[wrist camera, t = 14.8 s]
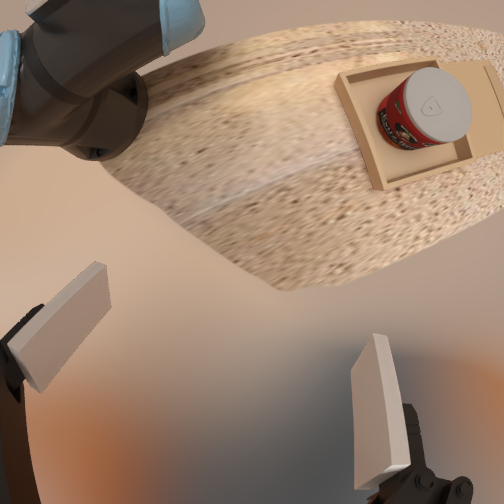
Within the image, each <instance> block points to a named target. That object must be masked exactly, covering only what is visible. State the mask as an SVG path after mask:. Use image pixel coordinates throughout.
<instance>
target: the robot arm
mask: <svg viewBox="0 0 504 504" xmlns="http://www.w3.org/2000/svg"><path fill="white" fill-rule="evenodd" d="M25 13H26V14H27V15H28V16H29V17H31V18H32V19H33V20H34V21H35V22H34V23H33V24H32V25H31V26H30V27H29V28H28V29H27V30H26V31H25V32H23V33H19V31H17V30H7V31H4V32H2V33H0V147H1V146H3V145H35V146H60V147H61V148H63V149H65V150H66V151H68V152H70V153H71V154H73V155H75V156H76V157H78V158H81V159H84V160H89V161H103V160H108V159H111V158H113V157H115V156H117V155H118V154H120V153H121V152H123V151H124V150H125V149H126V148H127V147H128V146H129V145H130V144H131V143H132V141H133V140H134V139H135V137H136V136H137V134H138V133H139V131H140V129H141V127H142V124H143V122H144V119H145V116H146V111H147V104H148V96H147V89H146V86H145V83H144V81H143V79H142V78H141V77H140V75H138V73H137V72H135V70H137V69H139V68H140V67H142V66H144V65H146V64H148V63H150V62H151V61H153V60H155V59H157V58H159V57H161V56H167V55H169V53H170V51H172V50H174V49H176V48H178V47H180V46H181V45H184V44H185V43H188V42H190V41H192V40H193V39H195V38H196V37H198V36H199V35H200V34H201V33H202V31H203V29H204V26H205V18H204V15H203V12H202V9H201V6H200V3H199V0H27V4H26V11H25ZM109 309H111V301H110V294H109V286H108V278H107V268H106V265H105V264H101V263H98V262H93V263H92V264H91V265H90V266H88V267H87V268H86V269H85V270H84V271H83V272H81V273H80V274H79V275H78V276H77V277H76V278H75V279H73V280H72V281H71V282H70V283H69V284H68V285H67V286H66V287H65V288H63V289H62V290H61V291H60V292H59V293H58V294H57V295H56V296H55V297H54V298H53V299H52V300H50V301H49V302H48V303H47V304H46V305H44V304H40V305H38V306H36V307H34V308H32V309H31V310H30V311H29V313H27V314H26V316H25V317H23V318H22V319H21V320H20V322H18V323H17V324H16V325H15V326H14V327H13V328H12V329H11V330H10V331H9V332H8V333H7V334H6V335H5V336H4V337H3V338H2V339H1V340H0V504H41V501H40V498H39V494H38V490H37V485H36V481H35V476H34V472H33V467H32V461H31V455H30V449H29V442H28V434H27V425H26V413H25V397H24V384H23V381H24V379H25V378H26V380H27V382H28V383H29V385H30V386H31V387H32V388H34V389H35V390H37V391H38V392H39V393H41V394H42V393H43V392H44V390H45V389H46V388H47V386H48V385H49V384H50V382H51V381H52V379H53V378H54V377H55V376H56V375H57V373H58V372H59V371H60V369H61V368H62V367H63V366H64V364H65V363H66V362H67V360H68V359H69V358H70V357H71V355H72V354H73V353H74V352H75V350H76V349H77V348H78V347H79V345H80V344H81V343H82V342H83V341H84V339H85V338H86V337H87V336H88V335H89V333H90V332H91V331H92V330H93V329H94V327H95V326H96V325H97V324H98V323H99V321H100V320H101V319H102V318H103V317H104V315H105V314H106V313H107V312H108V311H109ZM351 383H352V398H353V417H354V447H355V448H354V449H355V450H354V451H355V482H354V483H355V484H354V489H355V490H369V489H373V488H375V487H376V486H378V485H379V492H377V493H375V494H373V495H372V496H370V497H369V498H367V500H370V499H371V500H370V501H369V503H368V504H471V500H472V495H473V484H472V482H471V481H470V479H468V478H467V477H464V476H461V477H458V478H456V479H455V480H453V481H449V480H445V479H440V478H437V477H435V474H434V473H433V471H431V469H429V468H427V467H426V464H425V457H424V450H423V444H422V438H421V435H420V427H419V421H418V416H417V413H416V411H415V409H414V408H413V406H412V404H404V403H402V401H401V396H400V391H399V386H398V382H397V377H396V372H395V367H394V363H393V359H392V354H391V350H390V346H389V342H388V338H387V336H385V335H379V334H375V333H373V334H372V336H371V337H370V339H369V341H368V343H367V344H366V346H365V348H364V350H363V351H362V353H361V355H360V356H359V358H358V360H357V362H356V363H355V365H354V366H353V368H352V369H351Z"/></svg>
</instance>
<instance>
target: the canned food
mask: <svg viewBox="0 0 504 504" xmlns="http://www.w3.org/2000/svg"><path fill="white" fill-rule="evenodd" d="M471 122H472V106H471V102H470V99H469V96H468V94H467V92H466V90H465V89H464V87H463V86H462V84H461V83H460V82H459V81H458V80H457V79H456V78H455V77H454V76H452V75H451V74H450V73H448V72H446V71H444V70H442V69H439V68H434V67H426V68H422V69H419V70H417V71H416V72H414V73H413V74H411V75H410V76H409V77H407V78H406V79H405V80H404V81H403V82H402V83H401V84H400V85H398V86H397V87H396V88H395V89H394V90H393V91H392V92H391V93H389V94H388V95H387V96H386V97H385V98H384V99H383V100H382V101H381V103H380V105H379V107H378V111H377V124H378V127H379V130H380V132H381V134H382V136H383V137H384V138H385V139H386V140H387V141H388V142H389V143H390V144H392V145H393V146H395V147H396V148H399V149H402V150H416V149H421V148H426V147H431V146H436V145H441V144H446V143H450V142H454V141H456V140H458V139H460V138H462V137H463V136H464V135H465V134H466V133H467V131H468V130H469V128H470V125H471Z"/></svg>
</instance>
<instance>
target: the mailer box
mask: <svg viewBox="0 0 504 504" xmlns="http://www.w3.org/2000/svg"><path fill="white" fill-rule="evenodd" d="M426 67H434V68H439V69H442V70H444V71H446V72H448V73H450V74H451V75H452V76H454V77H455V78H456V79H457V80H458V81H459V82H460V83H461V84H462V86H463V87H464V89H465V90H466V92H467V94H468V96H469V99H470V102H471V106H472V122H471V125H470V128H469V130H468V131H467V133H466V134H465V135H464V136H463V137H462V138H460V139H458V140H456V141H454V142H450V143H446V144H441V145H436V146H431V147H426V148H421V149H416V150H402V149H399V148H396V147H395V146H393V145H392V144H390V143H389V142H388V141H387V140H386V139H385V138H384V137H383V136H382V134H381V132H380V130H379V127H378V124H377V111H378V107H379V105H380V103H381V101H382V100H383V99H384V98H385V97H386V96H387V95H388V94H389V93H391V92H392V91H393V90H394V89H395V88H396V87H397V86H398V85H400V84H401V83H402V82H403V81H404V80H405V79H406V78H407V77H409V76H410V75H411V74H413V73H414V72H416V71H417V70H419V69H422V68H426ZM334 86H335V88H336V91H337V93H338V95H339V97H340V100H341V102H342V104H343V107H344V109H345V111H346V114H347V116H348V119H349V121H350V124H351V126H352V129H353V131H354V134H355V136H356V139H357V142H358V144H359V147H360V150H361V153H362V155H363V158H364V161H365V164H366V167H367V170H368V173H369V176H370V179H371V182H372V185H373V188H374V189H376V190H387V189H391V188H394V187H397V186H400V185H403V184H406V183H409V182H413V181H416V180H419V179H422V178H425V177H429V176H432V175H435V174H438V173H441V172H445V171H448V170H451V169H454V168H458V167H461V166H464V165H467V164H471V163H474V162H477V159H476V158H478V157H481V156H485V155H488V154H492V153H495V152H499V151H502V150H504V89H503V87H502V84H501V82H500V79H499V77H498V75H497V72H496V70H495V68H494V66H492V65H491V63H490V61H489V60H478V61H462V62H451V63H440V61H439V59H438V57H437V56H428V57H420V58H412V59H405V60H399V61H393V62H387V63H382V64H376V65H371V66H367V67H362V68H357V69H353V70H349V71H344V72H340V73H339V74H338V76H337V78H336V81H335V83H334Z"/></svg>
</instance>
